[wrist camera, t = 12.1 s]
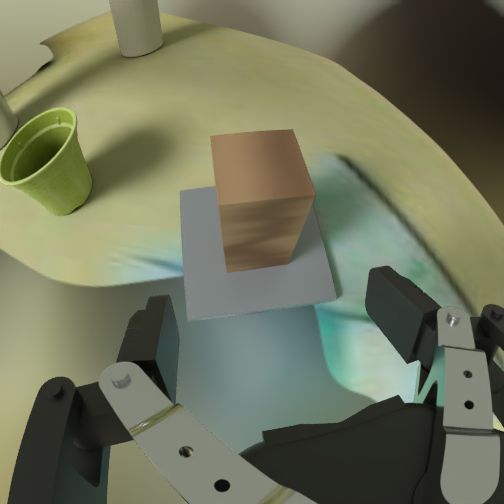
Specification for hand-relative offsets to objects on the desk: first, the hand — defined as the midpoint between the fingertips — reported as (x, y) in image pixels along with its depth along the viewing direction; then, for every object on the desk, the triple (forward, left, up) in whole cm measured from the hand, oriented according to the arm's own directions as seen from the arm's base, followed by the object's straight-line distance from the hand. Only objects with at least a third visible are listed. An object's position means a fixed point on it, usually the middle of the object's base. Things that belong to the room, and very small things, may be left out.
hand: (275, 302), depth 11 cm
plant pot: (-18, +17, -12) cm, 28 cm away
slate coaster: (+1, +8, -12) cm, 14 cm away
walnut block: (+1, +8, -11) cm, 14 cm away
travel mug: (-13, +50, -12) cm, 53 cm away
